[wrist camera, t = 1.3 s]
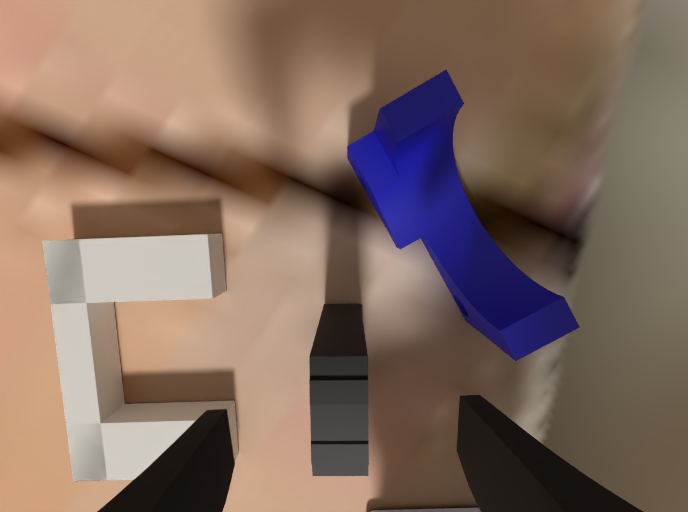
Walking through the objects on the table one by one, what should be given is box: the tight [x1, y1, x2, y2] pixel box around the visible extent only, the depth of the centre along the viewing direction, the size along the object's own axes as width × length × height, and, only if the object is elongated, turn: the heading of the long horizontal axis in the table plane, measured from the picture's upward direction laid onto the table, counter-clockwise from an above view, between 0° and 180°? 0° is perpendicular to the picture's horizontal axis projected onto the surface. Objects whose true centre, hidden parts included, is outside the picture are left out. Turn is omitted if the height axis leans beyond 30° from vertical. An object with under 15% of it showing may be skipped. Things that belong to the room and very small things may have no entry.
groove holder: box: [43, 233, 239, 481], centre depth 19 cm, size 14×9×2 cm, turn 2°
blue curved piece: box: [347, 70, 579, 361], centre depth 16 cm, size 12×4×6 cm, turn 30°
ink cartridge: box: [310, 304, 369, 476], centre depth 16 cm, size 5×2×8 cm, turn 0°
